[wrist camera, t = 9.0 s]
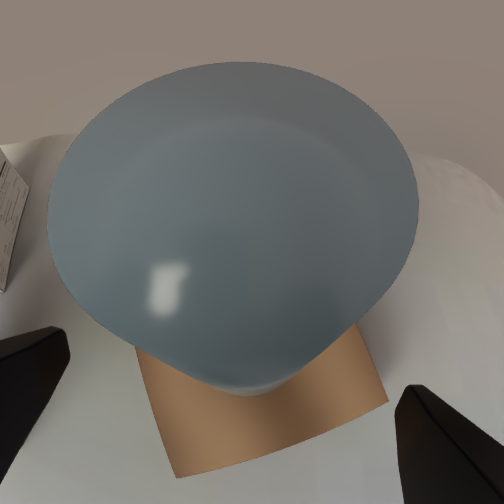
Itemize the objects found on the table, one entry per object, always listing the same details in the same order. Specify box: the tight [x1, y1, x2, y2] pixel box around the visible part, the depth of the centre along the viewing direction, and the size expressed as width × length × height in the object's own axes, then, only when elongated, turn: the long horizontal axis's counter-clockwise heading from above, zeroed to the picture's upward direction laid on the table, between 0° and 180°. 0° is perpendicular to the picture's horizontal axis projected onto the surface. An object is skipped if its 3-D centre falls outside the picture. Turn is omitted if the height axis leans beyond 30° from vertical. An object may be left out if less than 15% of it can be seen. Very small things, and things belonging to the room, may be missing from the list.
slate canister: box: [47, 62, 419, 398], centre depth 10 cm, size 5×5×12 cm
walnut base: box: [135, 323, 389, 478], centre depth 17 cm, size 11×11×3 cm
